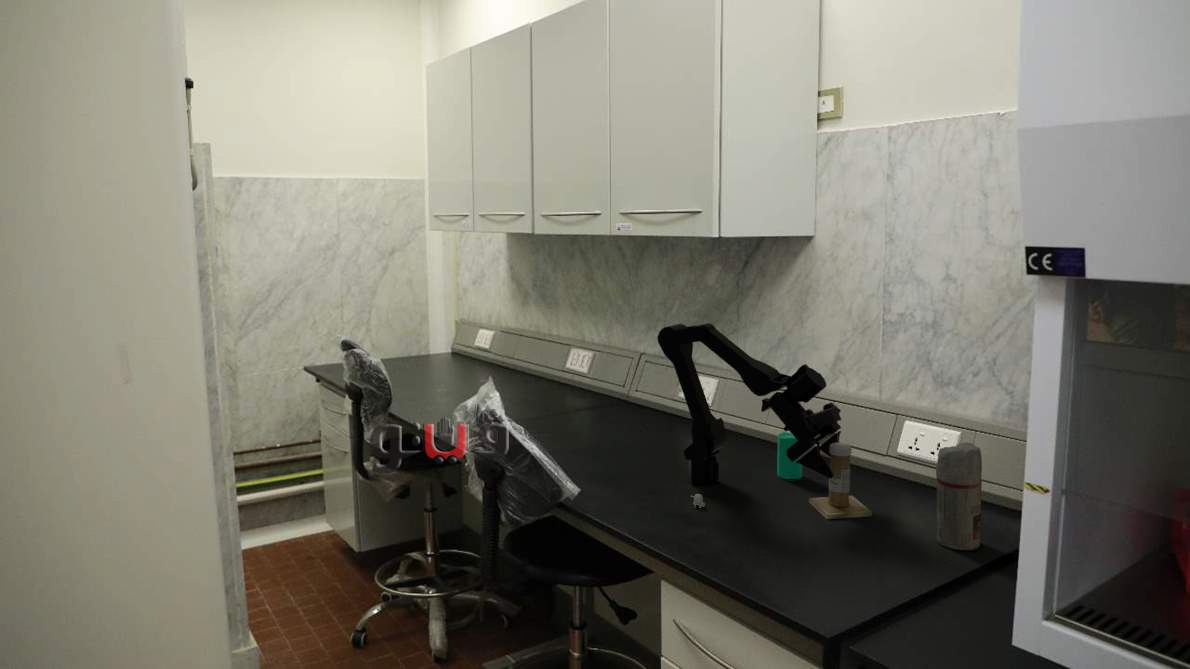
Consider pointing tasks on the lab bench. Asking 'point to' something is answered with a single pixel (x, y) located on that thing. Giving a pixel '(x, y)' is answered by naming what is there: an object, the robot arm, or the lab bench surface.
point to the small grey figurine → (698, 500)
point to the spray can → (959, 496)
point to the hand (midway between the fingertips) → (839, 471)
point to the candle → (784, 465)
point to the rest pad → (840, 508)
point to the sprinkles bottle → (839, 474)
